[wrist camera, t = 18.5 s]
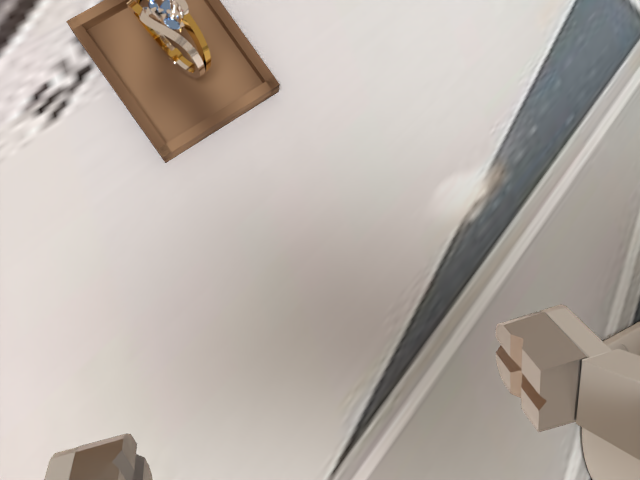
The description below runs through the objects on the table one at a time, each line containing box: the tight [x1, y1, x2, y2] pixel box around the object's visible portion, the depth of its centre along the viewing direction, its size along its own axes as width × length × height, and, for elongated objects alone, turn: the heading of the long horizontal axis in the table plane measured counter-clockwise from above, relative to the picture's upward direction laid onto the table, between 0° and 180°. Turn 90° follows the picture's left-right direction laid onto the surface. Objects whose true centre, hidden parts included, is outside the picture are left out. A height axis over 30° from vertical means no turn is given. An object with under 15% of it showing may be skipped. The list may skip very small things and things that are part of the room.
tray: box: [67, 0, 280, 163], centre depth 43 cm, size 11×13×2 cm
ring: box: [126, 0, 211, 78], centre depth 39 cm, size 7×3×8 cm, turn 44°
